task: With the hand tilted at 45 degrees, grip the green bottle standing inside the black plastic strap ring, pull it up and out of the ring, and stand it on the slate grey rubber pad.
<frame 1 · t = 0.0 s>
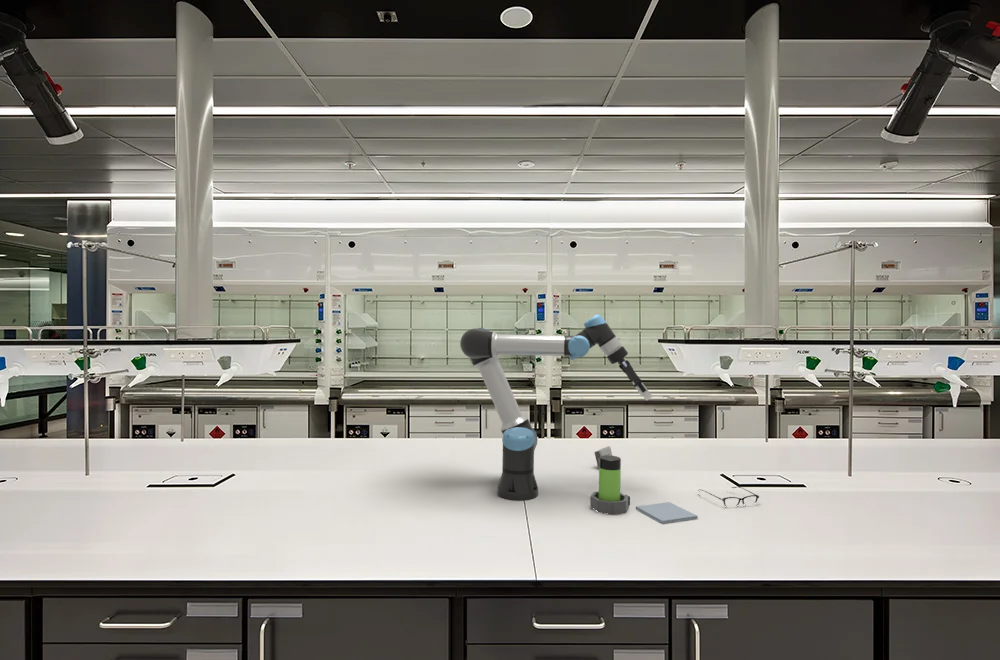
hand: (646, 396, 199), 36 cm above the table, tool tilted 35°, fingers open, 13 cm apart
strap ring: (609, 508, 179), on the table
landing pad: (665, 513, 174), on the table
electrical switch: (604, 468, 229), on the table
eyeglasses: (726, 501, 190), on the table
green bottle: (609, 508, 179), on the table
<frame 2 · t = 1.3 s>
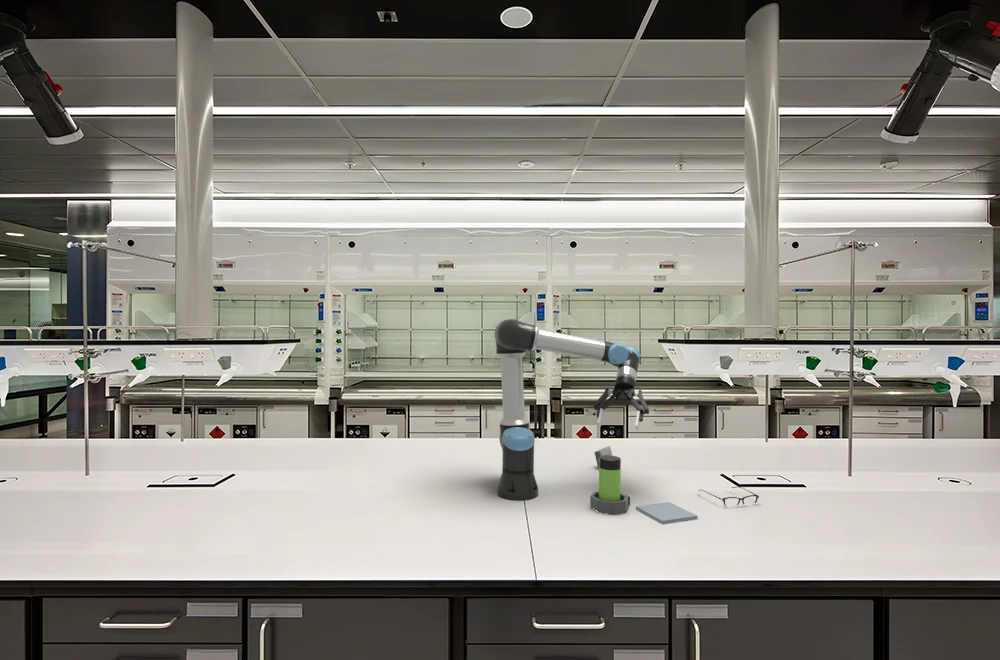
hand: (617, 426, 188), 26 cm above the table, tool tilted 45°, fingers open, 13 cm apart
nothing on the table moved.
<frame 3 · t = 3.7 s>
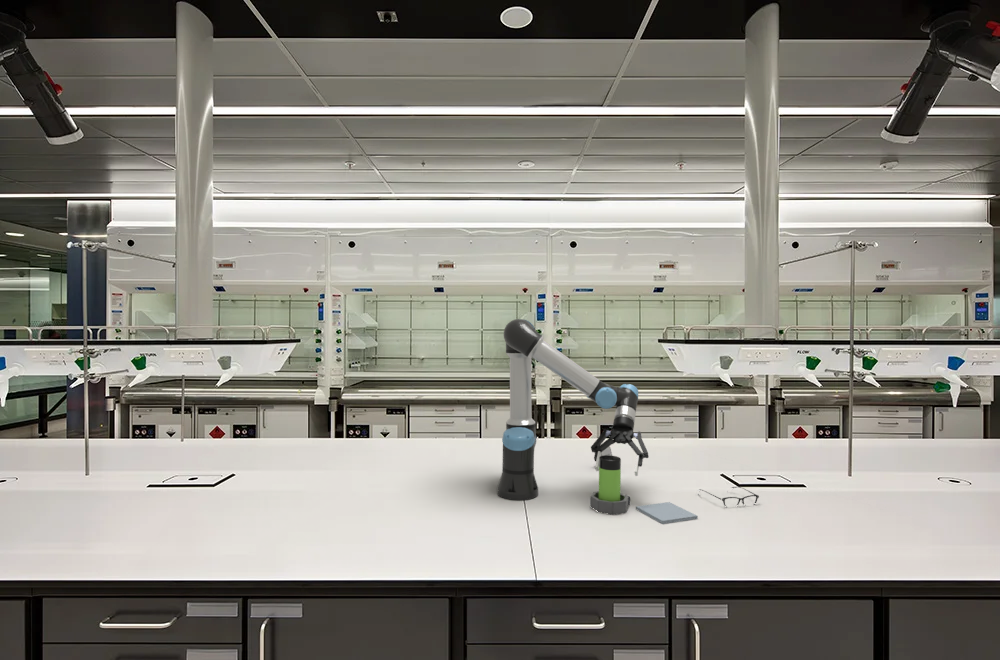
hand: (616, 471, 181), 12 cm above the table, tool tilted 45°, fingers open, 13 cm apart
nothing on the table moved.
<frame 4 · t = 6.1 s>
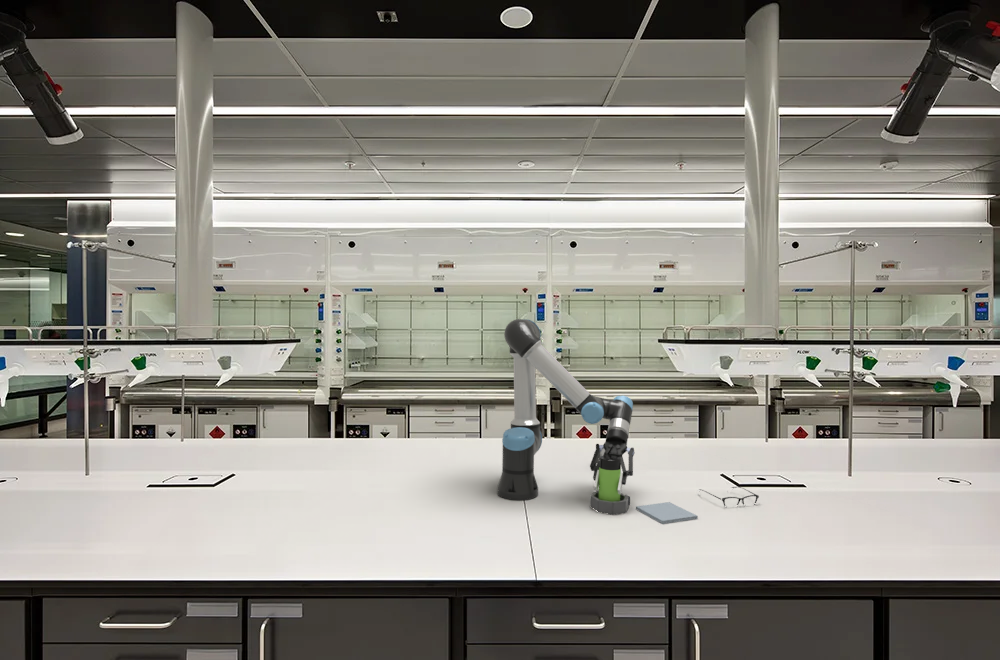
hand: (607, 490, 176), 7 cm above the table, tool tilted 45°, fingers closed on green bottle, 7 cm apart
green bottle: (609, 508, 179), on the table, touching gripper
everything else where it was.
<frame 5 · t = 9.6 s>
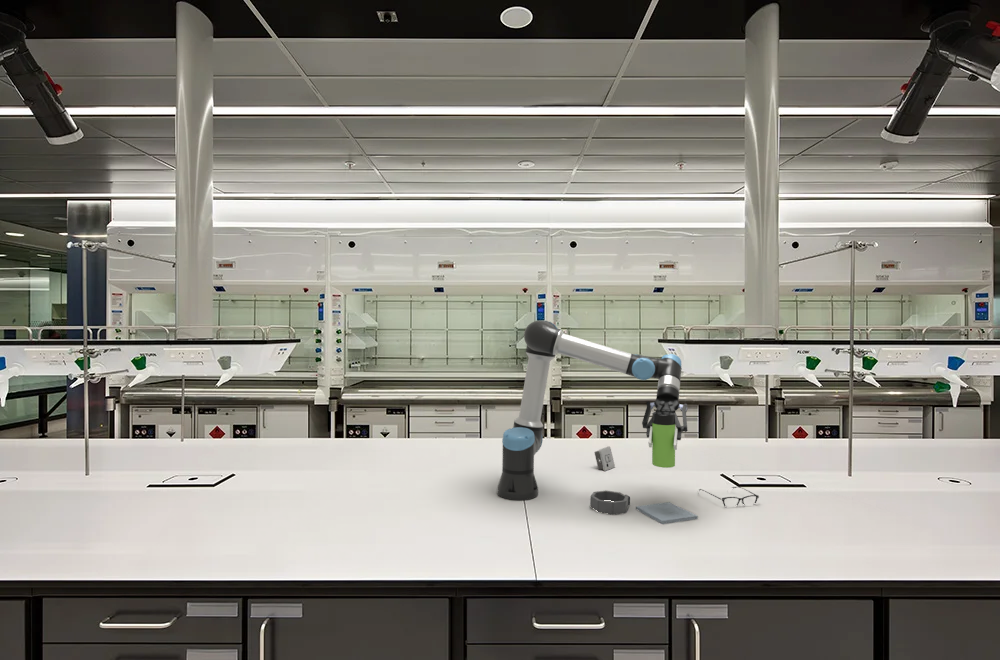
hand: (662, 446, 171), 23 cm above the table, tool tilted 45°, fingers closed on green bottle, 7 cm apart
green bottle: (663, 465, 174), point 16 cm above the table, touching gripper
everything else where it was.
when the fingers open (9 cm above the table, at t = 13.1 s): green bottle stays where it is, resting on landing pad.
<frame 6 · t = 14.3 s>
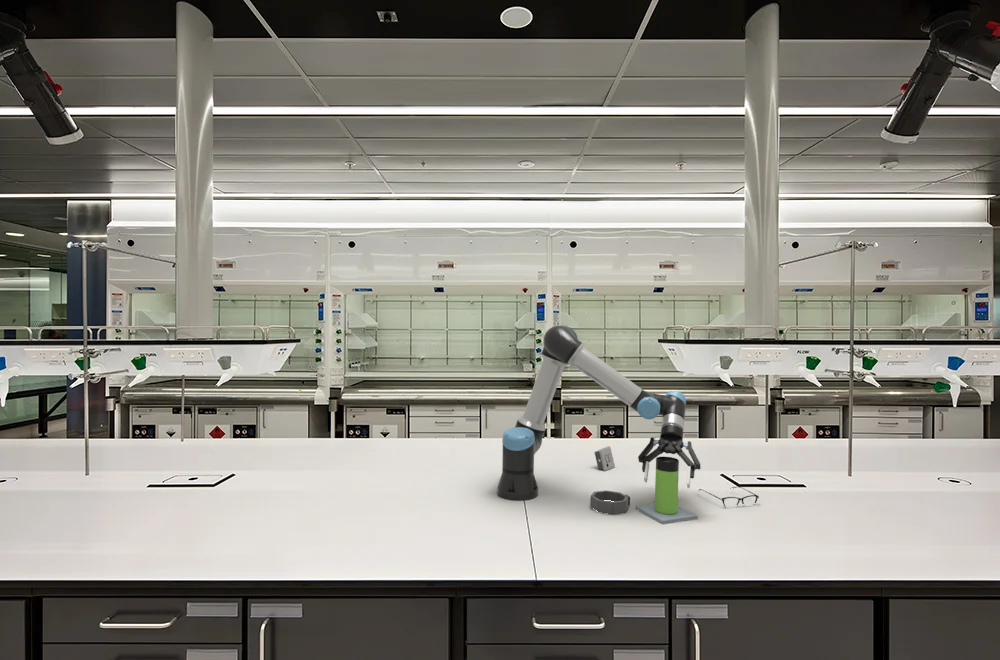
hand: (666, 483, 172), 11 cm above the table, tool tilted 45°, fingers open, 13 cm apart
green bottle: (665, 511, 174), point 1 cm above the table, touching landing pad
everything else where it was.
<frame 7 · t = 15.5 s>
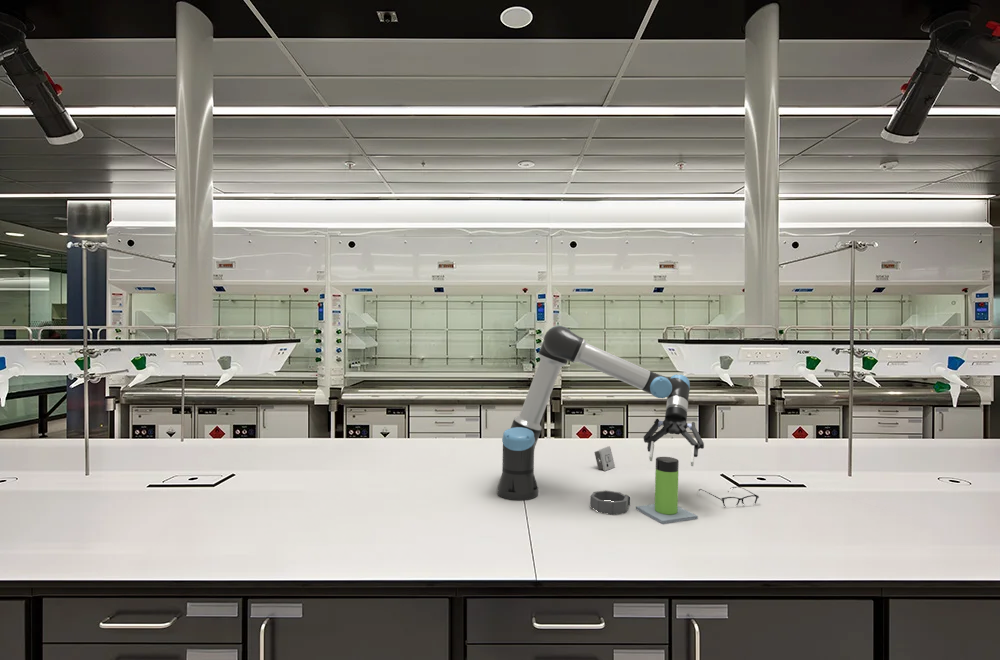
hand: (671, 461, 179), 16 cm above the table, tool tilted 45°, fingers open, 13 cm apart
nothing on the table moved.
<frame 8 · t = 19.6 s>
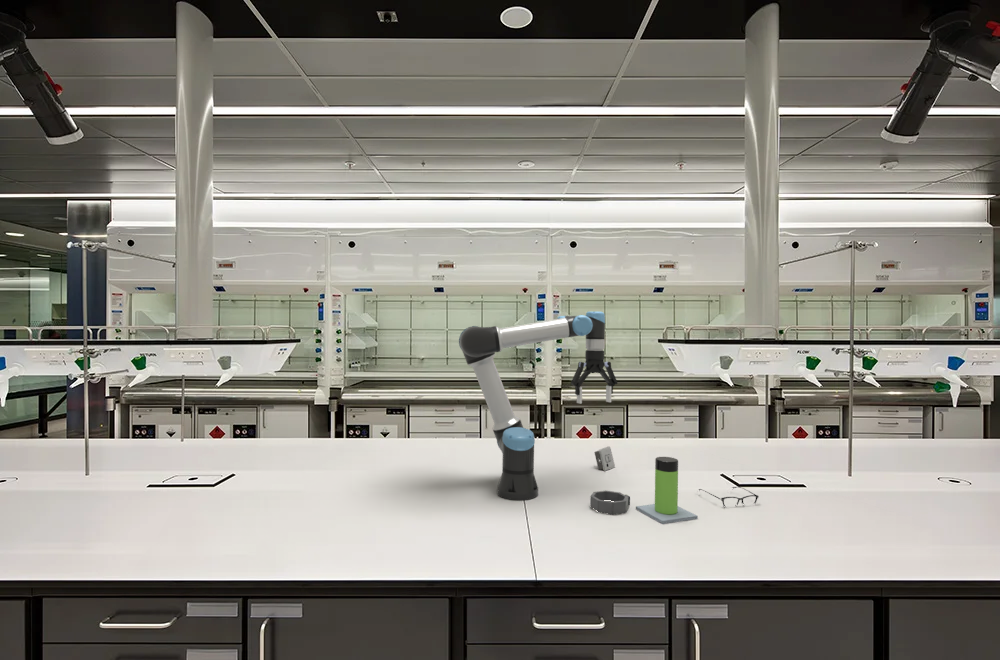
hand: (594, 402, 210), 32 cm above the table, tool pointing down, fingers open, 13 cm apart
nothing on the table moved.
at the end: green bottle inside the target area on the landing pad (0.0 cm from its centre), point 0.8 cm above the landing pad's base; green bottle tilted 0°; the gripper is holding nothing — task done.
